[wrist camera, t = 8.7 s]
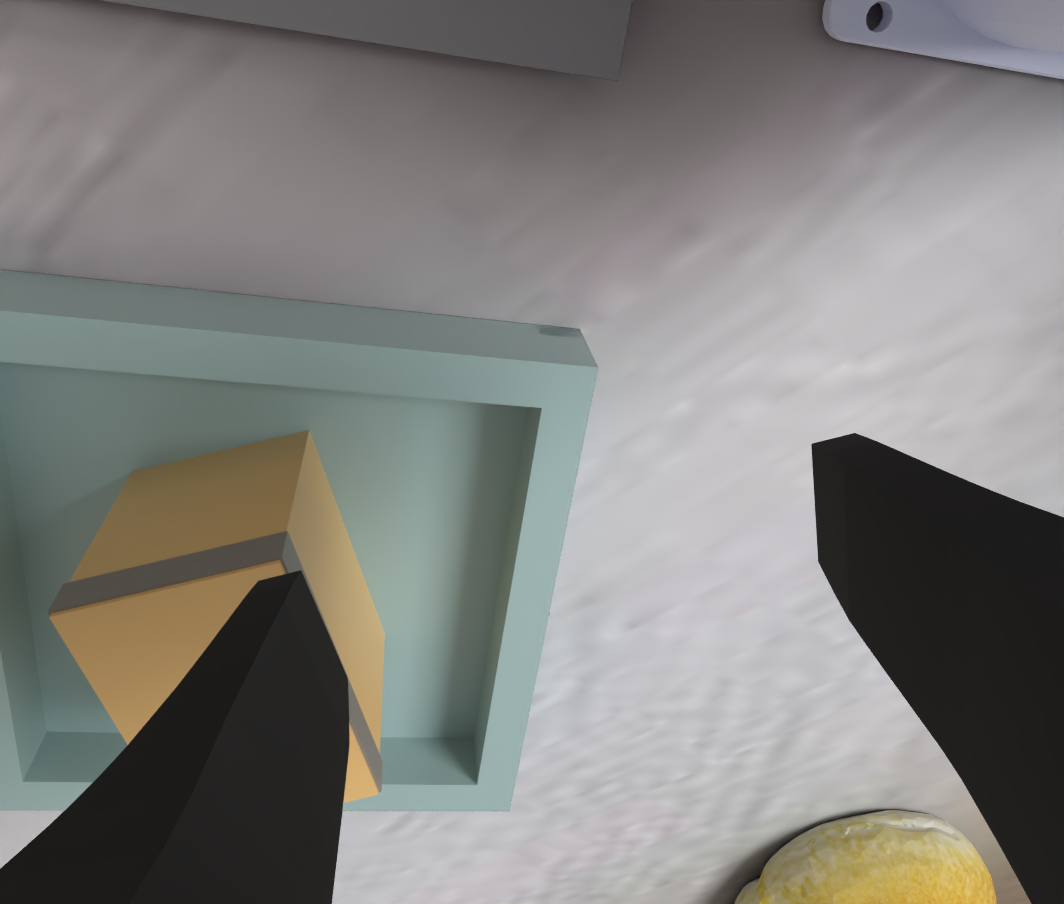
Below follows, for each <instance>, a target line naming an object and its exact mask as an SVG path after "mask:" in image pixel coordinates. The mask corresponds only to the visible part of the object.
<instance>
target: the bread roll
mask: <svg viewBox="0 0 1064 904" xmlns="http://www.w3.org/2000/svg"><path fill="white" fill-rule="evenodd" d="M734 904H996V895H995V891H994V887H993V883H992V878H991V875H990V873H989V872H988V870H987V868H986V866H985V864H984V863H983V861H982V859H981V857H980V856H979V854H978V853H977V851H976V850H975V848H974V847H973V845H972V844H971V843H970V842H969V841H968V840H967V839H966V838H965V837H964V836H963V835H962V834H961V833H960V832H959V831H958V830H957V829H956V828H954V827H953V826H952V825H950V824H949V823H948V822H946V821H944V820H942V819H940V818H937V817H935V816H933V815H930V814H924V813H918V812H908V811H901V810H886V811H881V812H875V813H869V814H865V815H857V816H852V817H847V818H842V819H838V820H834V821H831V822H827V823H824V824H821V825H819V826H817V827H814V828H812V829H810V830H808V831H806V832H804V833H802V834H800V835H799V836H797V837H796V838H794V839H793V840H791V841H790V842H789V843H787V844H786V845H785V846H783V847H782V848H781V849H780V850H778V851H777V852H776V853H775V854H774V855H773V856H772V857H771V858H770V860H769V861H768V862H767V863H766V865H765V867H764V869H763V871H762V874H761V876H760V878H758V879H756V880H754V881H752V882H750V883H748V884H747V885H745V886H744V887H743V889H742V890H741V892H740V893H739V895H738V896H737V898H736V900H735V903H734Z"/></svg>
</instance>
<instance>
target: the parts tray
mask: <svg viewBox="0 0 1064 904" xmlns="http://www.w3.org/2000/svg"><path fill="white" fill-rule="evenodd" d="M597 371H598V366H597V364H596V362H595V360H594V358H593V356H592V354H591V352H590V350H589V347H588V345H587V343H586V341H585V339H584V337H583V335H582V333H581V331H580V329H573V328H563V327H554V326H544V325H534V324H525V323H515V322H505V321H495V320H486V319H476V318H466V317H457V316H447V315H437V314H428V313H418V312H408V311H398V310H389V309H379V308H369V307H360V306H350V305H340V304H330V303H321V302H311V301H301V300H292V299H282V298H272V297H262V296H253V295H243V294H233V293H224V292H214V291H204V290H194V289H185V288H175V287H165V286H156V285H146V284H136V283H126V282H117V281H107V280H97V279H88V278H78V277H68V276H59V275H49V274H39V273H29V272H20V271H10V270H0V810H52V811H65V810H66V809H67V808H68V807H69V806H70V805H71V804H72V803H73V802H74V801H75V800H76V799H77V798H78V797H79V796H80V795H81V794H82V793H83V792H84V791H85V790H86V789H87V788H88V787H89V786H90V785H91V784H92V783H93V782H94V781H95V780H96V779H97V778H98V777H99V776H100V774H101V773H102V772H103V771H104V770H105V769H106V768H107V767H108V766H109V765H110V764H111V763H112V762H113V761H114V760H115V758H116V757H117V756H118V755H119V754H120V753H121V752H122V751H123V750H124V749H125V747H126V746H127V743H126V741H125V740H124V738H123V736H122V735H121V733H120V732H119V730H118V728H117V727H116V725H115V723H114V722H113V720H112V719H111V717H110V715H109V714H108V712H107V710H106V709H105V707H104V706H103V704H102V702H101V701H100V699H99V697H98V696H97V694H96V693H95V691H94V689H93V688H92V686H91V684H90V683H89V681H88V680H87V678H86V676H85V675H84V673H83V672H82V670H81V668H80V667H79V665H78V663H77V662H76V660H75V659H74V657H73V655H72V654H71V652H70V650H69V649H68V647H67V646H66V644H65V642H64V641H63V639H62V637H61V636H60V634H59V633H58V631H57V629H56V628H55V626H54V624H53V623H52V621H51V620H50V618H49V617H50V616H49V614H48V613H47V611H48V609H49V608H50V606H51V604H52V602H53V601H54V599H55V597H56V596H57V594H58V592H59V590H60V589H61V587H62V585H63V584H64V583H68V582H69V581H70V580H71V578H72V576H73V574H74V573H75V571H76V569H77V567H78V566H79V564H80V562H81V560H82V558H83V557H84V555H85V553H86V551H87V550H88V548H89V546H90V544H91V543H92V541H93V539H94V537H95V536H96V534H97V532H98V530H99V528H100V527H101V525H102V523H103V521H104V520H105V518H106V516H107V514H108V513H109V511H110V509H111V507H112V506H113V504H114V502H115V500H116V499H117V497H118V495H119V493H120V491H121V490H122V488H123V486H124V484H125V483H126V481H127V479H128V477H129V476H130V474H131V472H133V471H137V470H141V469H145V468H150V467H154V466H158V465H162V464H167V463H171V462H175V461H180V460H184V459H188V458H192V457H197V456H201V455H205V454H209V453H214V452H218V451H222V450H227V449H231V448H235V447H239V446H244V445H248V444H252V443H256V442H261V441H265V440H269V439H274V438H278V437H282V436H286V435H291V434H295V433H299V432H303V431H308V430H309V431H310V433H311V436H312V439H313V442H314V444H315V447H316V450H317V452H318V455H319V458H320V460H321V463H322V466H323V468H324V471H325V474H326V477H327V479H328V482H329V485H330V487H331V490H332V493H333V495H334V498H335V501H336V504H337V506H338V509H339V512H340V514H341V517H342V520H343V522H344V525H345V528H346V530H347V533H348V536H349V539H350V541H351V544H352V547H353V549H354V552H355V555H356V557H357V560H358V563H359V566H360V568H361V571H362V574H363V576H364V579H365V582H366V584H367V587H368V590H369V592H370V595H371V598H372V601H373V603H374V606H375V609H376V611H377V614H378V617H379V619H380V622H381V625H382V627H383V630H384V633H385V641H384V666H383V690H382V715H381V740H380V756H381V758H382V761H383V764H382V791H381V792H378V795H375V796H371V797H366V798H362V799H358V800H354V801H350V802H345V803H343V810H342V811H510V806H511V801H512V796H513V791H514V786H515V781H516V776H517V771H518V766H519V761H520V756H521V751H522V746H523V741H524V736H525V731H526V726H527V721H528V716H529V711H530V706H531V701H532V696H533V691H534V686H535V681H536V676H537V671H538V666H539V661H540V656H541V651H542V646H543V641H544V636H545V631H546V626H547V621H548V616H549V611H550V606H551V601H552V596H553V591H554V586H555V581H556V576H557V571H558V566H559V561H560V556H561V551H562V546H563V541H564V536H565V531H566V526H567V521H568V516H569V511H570V506H571V501H572V496H573V491H574V486H575V481H576V476H577V471H578V466H579V461H580V456H581V451H582V446H583V441H584V436H585V431H586V426H587V421H588V416H589V411H590V406H591V401H592V396H593V391H594V386H595V381H596V376H597Z"/></svg>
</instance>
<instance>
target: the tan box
mask: <svg viewBox="0 0 1064 904" xmlns="http://www.w3.org/2000/svg"><path fill="white" fill-rule="evenodd" d="M300 570H301V571H302V573H303V575H304V578H305V580H306V582H307V585H308V587H309V589H310V591H311V594H312V596H313V598H314V601H315V603H316V605H317V608H318V610H319V612H320V615H321V617H322V619H323V622H324V624H325V626H326V629H327V631H328V633H329V635H330V638H331V640H332V642H333V645H334V647H335V649H336V652H337V654H338V656H339V659H340V661H341V663H342V666H343V668H344V670H345V672H346V675H347V677H348V693H349V742H350V745H349V755H348V765H347V774H346V783H345V792H344V801H343V803H345V802H350V801H354V800H358V799H362V798H366V797H371V796H375V795H378V792H381V791H382V764H383V761H382V758H381V756H380V740H381V715H382V690H383V666H384V641H385V633H384V630H383V627H382V625H381V622H380V619H379V617H378V614H377V611H376V609H375V606H374V603H373V601H372V598H371V595H370V592H369V590H368V587H367V584H366V582H365V579H364V576H363V574H362V571H361V568H360V566H359V563H358V560H357V557H356V555H355V552H354V549H353V547H352V544H351V541H350V539H349V536H348V533H347V530H346V528H345V525H344V522H343V520H342V517H341V514H340V512H339V509H338V506H337V504H336V501H335V498H334V495H333V493H332V490H331V487H330V485H329V482H328V479H327V477H326V474H325V471H324V468H323V466H322V463H321V460H320V458H319V455H318V452H317V450H316V447H315V444H314V442H313V439H312V436H311V433H310V431H309V430H308V431H303V432H299V433H295V434H291V435H286V436H282V437H278V438H274V439H269V440H265V441H261V442H256V443H252V444H248V445H244V446H239V447H235V448H231V449H227V450H222V451H218V452H214V453H209V454H205V455H201V456H197V457H192V458H188V459H184V460H180V461H175V462H171V463H167V464H162V465H158V466H154V467H150V468H145V469H141V470H137V471H133V472H131V474H130V476H129V477H128V479H127V481H126V483H125V484H124V486H123V488H122V490H121V491H120V493H119V495H118V497H117V499H116V500H115V502H114V504H113V506H112V507H111V509H110V511H109V513H108V514H107V516H106V518H105V520H104V521H103V523H102V525H101V527H100V528H99V530H98V532H97V534H96V536H95V537H94V539H93V541H92V543H91V544H90V546H89V548H88V550H87V551H86V553H85V555H84V557H83V558H82V560H81V562H80V564H79V566H78V567H77V569H76V571H75V573H74V574H73V576H72V578H71V580H70V581H69V582H68V583H64V584H63V585H62V587H61V589H60V590H59V592H58V594H57V596H56V597H55V599H54V601H53V602H52V604H51V606H50V608H49V609H48V611H47V613H48V614H49V616H50V617H49V618H50V620H51V621H52V623H53V624H54V626H55V628H56V629H57V631H58V633H59V634H60V636H61V637H62V639H63V641H64V642H65V644H66V646H67V647H68V649H69V650H70V652H71V654H72V655H73V657H74V659H75V660H76V662H77V663H78V665H79V667H80V668H81V670H82V672H83V673H84V675H85V676H86V678H87V680H88V681H89V683H90V684H91V686H92V688H93V689H94V691H95V693H96V694H97V696H98V697H99V699H100V701H101V702H102V704H103V706H104V707H105V709H106V710H107V712H108V714H109V715H110V717H111V719H112V720H113V722H114V723H115V725H116V727H117V728H118V730H119V732H120V733H121V735H122V736H123V738H124V740H125V741H126V743H127V745H128V744H129V743H130V742H131V740H132V739H133V738H134V737H135V736H136V735H137V733H138V732H139V731H140V730H141V729H142V727H143V726H144V725H145V724H146V723H147V721H148V720H149V719H150V718H151V717H152V715H153V714H154V713H155V712H156V711H157V710H158V708H159V707H160V706H161V705H162V704H163V702H164V701H165V700H166V699H167V698H168V696H169V695H170V694H171V693H172V692H173V691H174V689H175V688H176V687H177V686H178V684H179V683H180V682H181V681H182V679H183V678H184V677H185V675H186V674H187V673H188V671H189V670H190V669H191V668H192V666H193V665H194V664H195V662H196V661H197V660H198V658H199V657H200V656H201V654H202V653H203V652H204V651H205V649H206V648H207V647H208V645H209V644H210V643H211V641H212V640H213V639H214V637H215V636H216V635H217V633H218V632H219V631H220V629H221V628H222V627H223V625H224V624H225V623H226V621H227V620H228V619H229V617H230V616H231V615H232V613H233V612H234V611H235V609H236V608H237V607H238V605H239V604H240V603H241V601H242V600H243V599H244V598H245V596H246V595H247V594H248V592H249V591H250V590H251V589H252V588H253V586H254V585H255V584H256V583H257V582H258V581H259V580H263V579H267V578H271V577H275V576H279V575H283V574H287V573H292V572H296V571H300Z"/></svg>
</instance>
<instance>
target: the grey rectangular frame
mask: <svg viewBox="0 0 1064 904" xmlns="http://www.w3.org/2000/svg"><path fill="white" fill-rule="evenodd" d="M102 1H108V2H115V3H121V4H127V5H134V6H140V7H147V8H153V9H159V10H166V11H172V12H179V13H185V14H191V15H198V16H204V17H211V18H217V19H223V20H230V21H236V22H243V23H249V24H255V25H262V26H268V27H275V28H281V29H287V30H294V31H300V32H307V33H313V34H319V35H326V36H332V37H339V38H345V39H351V40H358V41H364V42H371V43H377V44H383V45H390V46H396V47H403V48H409V49H415V50H422V51H428V52H435V53H441V54H447V55H454V56H460V57H467V58H473V59H479V60H486V61H492V62H499V63H505V64H511V65H518V66H524V67H531V68H537V69H543V70H550V71H556V72H563V73H569V74H576V75H582V76H588V77H595V78H601V79H608V80H614V81H618V77H619V71H620V66H621V60H622V55H623V49H624V44H625V38H626V33H627V27H628V22H629V16H630V11H631V5H632V0H102Z"/></svg>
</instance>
